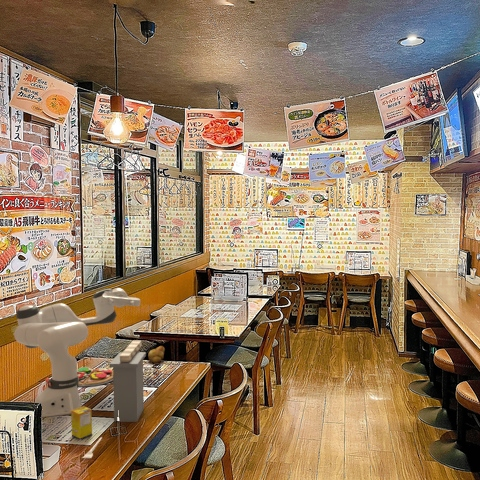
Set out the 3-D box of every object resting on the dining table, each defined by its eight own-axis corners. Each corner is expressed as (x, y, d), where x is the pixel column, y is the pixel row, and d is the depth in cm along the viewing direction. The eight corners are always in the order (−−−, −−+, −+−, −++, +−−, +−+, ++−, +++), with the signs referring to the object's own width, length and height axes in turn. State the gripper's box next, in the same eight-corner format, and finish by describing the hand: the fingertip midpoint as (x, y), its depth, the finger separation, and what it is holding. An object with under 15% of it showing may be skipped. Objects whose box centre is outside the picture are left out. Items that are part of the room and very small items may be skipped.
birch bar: (133, 346, 246) (133, 340, 246) (141, 346, 246) (141, 340, 246) (119, 362, 220) (119, 355, 220) (129, 362, 220) (129, 355, 220)
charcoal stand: (120, 407, 238) (119, 352, 236) (146, 407, 237) (145, 352, 236) (110, 423, 220) (109, 363, 218) (138, 423, 219) (137, 363, 218)
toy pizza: (57, 388, 265) (56, 380, 265) (72, 371, 293) (72, 364, 293) (111, 387, 266) (110, 379, 266) (121, 370, 294) (121, 363, 293)
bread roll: (162, 363, 305) (162, 350, 305) (146, 364, 305) (145, 350, 305) (165, 357, 318) (165, 345, 318) (149, 357, 318) (149, 345, 318)
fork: (105, 439, 206) (105, 434, 206) (88, 462, 186) (88, 457, 186) (97, 439, 207) (97, 434, 206) (79, 462, 187) (79, 457, 186)
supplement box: (84, 431, 212) (83, 405, 211) (92, 435, 208) (92, 409, 208) (71, 436, 207) (70, 410, 207) (79, 440, 204) (79, 413, 203)
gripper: (138, 306, 280) (141, 310, 267) (99, 302, 273) (101, 307, 260) (139, 294, 280) (143, 298, 267) (101, 291, 273) (102, 295, 260)
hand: (122, 303), depth 263 cm, fingers open, 8 cm apart
